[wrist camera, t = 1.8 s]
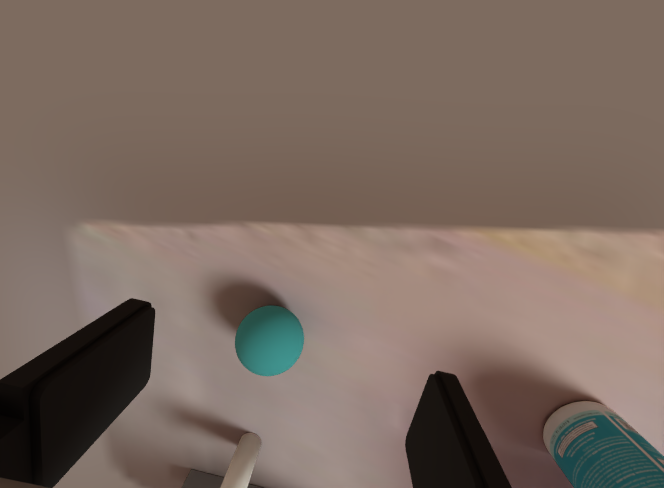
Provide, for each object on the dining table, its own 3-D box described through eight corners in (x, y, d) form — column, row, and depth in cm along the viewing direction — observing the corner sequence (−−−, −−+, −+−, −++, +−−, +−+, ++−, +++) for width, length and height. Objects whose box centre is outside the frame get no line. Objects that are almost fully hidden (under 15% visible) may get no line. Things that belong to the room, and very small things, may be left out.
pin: (259, 453, 34) (228, 549, 26) (238, 447, 34) (199, 542, 26) (263, 435, 34) (233, 528, 25) (241, 429, 34) (203, 521, 25)
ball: (300, 356, 31) (289, 399, 25) (243, 341, 31) (218, 381, 25) (314, 303, 30) (305, 336, 24) (254, 288, 30) (230, 317, 24)
